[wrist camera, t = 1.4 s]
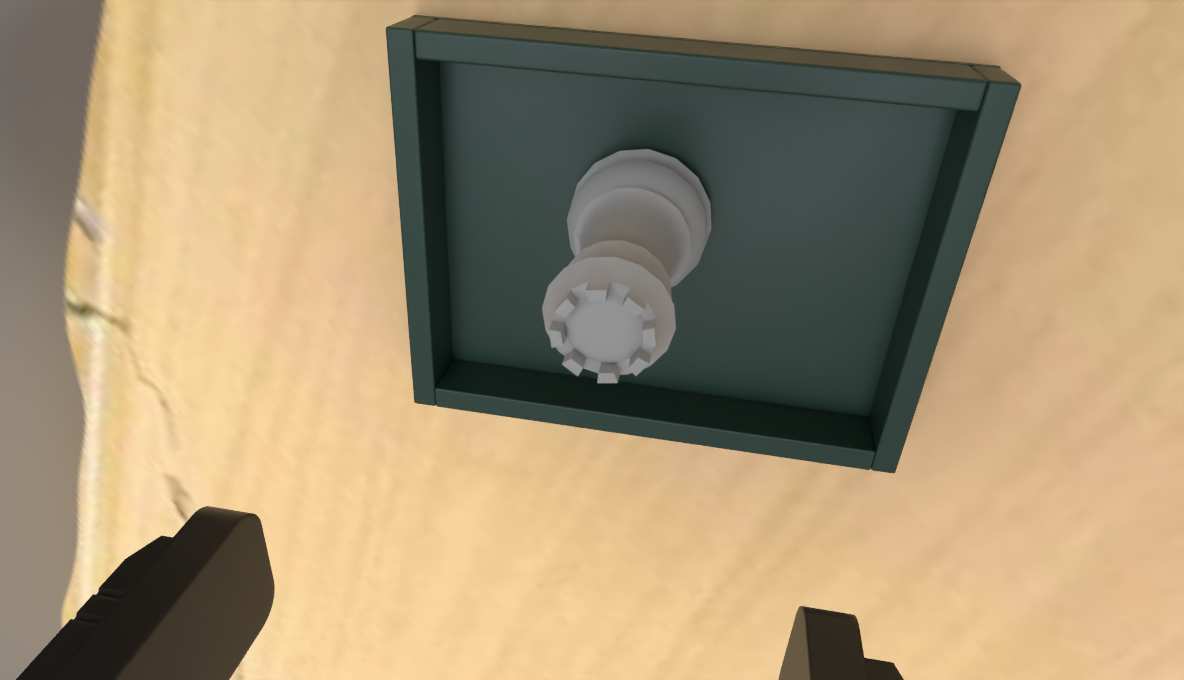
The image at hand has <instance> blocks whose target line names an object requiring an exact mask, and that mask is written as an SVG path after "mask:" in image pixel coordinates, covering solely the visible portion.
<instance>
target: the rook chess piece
mask: <svg viewBox="0 0 1184 680" xmlns="http://www.w3.org/2000/svg"><path fill="white" fill-rule="evenodd" d="M567 225H568V233H569V240H570V247H571V250H572V252H573V254H574V255H575V258H574V259H573V260H572V261H571V262H570V264H569V265H568V267H565V268H564V269H563V270H562V271H561V272H560V273H559V274H558V276H557V277H556V278H555V279H554V280H553V281H552V282H551V283H550V284H549V286H548V289H547V292H546V296H545V299H544V303H543V306H542V311H543V317H544V324H545V330H546V332H547V334H548V335H549V337H550V341H551V348H554V347H556V348H557V350H558V351H559V352H560V353H561V354H563V355H564V356H565V357H564V360H563V362H562V365H563V366H565V367H566V368H567V369H569V370H570V371H571V372H572V373H574V374H575V375H576V376H578V375H579V374H580V372H581V371H582V369H583V368H584V369H587V370H590V371H593V372H596V373H598V381H597V383H618V380H619V376H620V375H628V374H630V373H633V374H634V375H635V376H637V375H638V374H639V373H640V372H641V371H642V370H643V369H644V368H647V367H649V366H651V365H652V364H653V363H654V362H655V361H656V360H657V359H658V358H659V357H660V356H662V355H663V354H664V353H665V352H666V351H667V350H668V347H669V345H670V342H671V340H672V337H673V335H674V332H675V330H676V324H675V309H674V304H673V302H672V300H671V299H672V297H671V287H673V286H676V285H677V284H678V283H679V282H680V281H681V280H682V279H683V278H684V277H685V276H687V275H688V274H689V273H690V272H691V271H692V270H693V269H694V268H695V267H696V266H697V265H698V263H699V261H700V258H701V256H702V253H703V251H704V248H705V246H706V243H707V241H708V236H709V234H710V231H711V207H710V201H709V199H708V197H707V195H706V193H705V190H704V188H703V186H702V184H701V182H700V180H699V178H698V177H697V176H696V175H695V174H694V173H693V172H691V171H690V170H689V169H688V168H687V167H686V166H684V165H683V164H682V163H681V162H680V161H679V160H678V159H676V158H674V157H671V156H668V155H665V154H662V153H659V152H656V151H653V150H650V149H641V150H625V151H618V152H616V153H614V154H612V155H610V156H608V157H606V158H604V159H602V160H600V161H598V162H596V163H594V165H593V166H592V167H591V168H590V169H589V170H588V172H587V173H586V174H585V175H584V176H583V178H582V179H581V180H580V181H579V182H578V184H577V187H576V190H575V193H574V196H573V200H572V203H571V206H570V210H569V213H568V217H567Z"/></svg>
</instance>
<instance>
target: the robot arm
mask: <svg viewBox="0 0 1184 680" xmlns="http://www.w3.org/2000/svg"><path fill="white" fill-rule="evenodd" d="M273 599H274V579H273V575H272V570H271V566H270V561H269V556H268V552H267V547H266V543H265V538H264V533H263V529H262V524H261V521H260V519H259V517H258V516H257V515H255V514H252V513H246V512H240V511H234V510H228V509H222V508H216V507H209V506H206V507H203V508H201V509H199V510H198V511H196V512H195V513H194V514H193V515H192V516H191V518H190V519H189V520H188V521H187V522H186V523H185V525H184V526H183V527H182V528H181V529H180V530H179V531H178V533H177V534H176V535H175V536H174V537H173V538H172V537H166V536H160V537H159V538H157V539H156V540H154V541H153V542H151V543H149V544H148V545H146V546H145V547H143V548H142V549H140V550H139V551H137V552H136V553H134V554H132V555H131V556H129V557H128V558H126V559H125V560H124V561H123V562H122V563H121V564H120V566H119V567H118V568H117V569H116V570H115V571H114V572H113V573H112V574H111V575H110V577H109V578H108V579H107V580H106V581H105V582H104V583H103V584H102V585H101V586H100V588H99V591H98V593H97V595H94V594H93V595H92V596H91V597H90V599H89V600H88V601H87V602H86V603H85V604H84V605H83V606H82V607H81V608H80V610H79V611H78V612H77V615H76V618H75V619H74V620H72V619H70V621H69V622H68V623H67V624H66V625H65V626H64V627H63V628H62V629H61V630H60V632H59V633H58V634H57V635H56V636H55V637H54V638H53V639H52V640H51V642H50V643H49V644H48V645H47V646H46V647H45V648H44V649H43V650H42V652H41V653H40V654H39V655H38V656H37V657H36V658H35V659H34V660H33V661H32V662H31V663H30V665H29V666H28V667H27V668H26V669H25V670H24V671H23V672H22V674H20V676H19V677H18V678H17V679H16V680H229V679H230V678H231V676H232V675H233V673H234V671H235V670H236V668H237V667H238V665H239V664H240V662H241V661H242V659H243V657H244V656H245V654H246V653H247V651H248V650H249V648H250V647H251V645H252V643H253V642H254V640H255V639H256V637H257V636H258V634H259V632H260V631H261V629H262V628H263V626H264V624H265V623H266V620H267V618H268V616H269V613H270V611H271V607H272V604H273ZM779 680H904V679H903V678H902V676H901V674H900V673H899V671H898V670H897V668H896V667H895V665H894V663H891V662H886V661H880V660H874V659H868V658H864V654H863V648H862V642H861V635H860V629H859V624H858V621H857V618H856V617H855V615H852V614H846V613H840V612H834V611H828V610H822V609H815V608H809V607H803V606H800V607H799V608H798V611H797V613H796V617H795V620H794V624H793V628H792V631H791V635H790V638H789V642H788V646H787V649H786V653H785V656H784V660H783V664H782V667H781V671H780V675H779Z"/></svg>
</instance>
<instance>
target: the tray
mask: <svg viewBox="0 0 1184 680" xmlns="http://www.w3.org/2000/svg"><path fill="white" fill-rule="evenodd" d="M386 37H387V50H388V63H389V76H390V89H391V102H392V115H393V128H394V142H395V155H396V168H397V181H398V194H399V207H400V220H401V233H402V246H403V259H404V272H405V286H406V299H407V312H408V325H409V338H410V351H411V364H412V377H413V390H414V402H415V403H418V404H425V405H432V406H435V405H436V406H438V407H445V408H452V409H459V410H465V411H472V412H479V413H486V414H493V415H499V416H506V417H513V418H520V419H526V420H533V421H540V422H547V423H554V424H560V425H567V426H574V427H581V428H588V429H594V430H601V431H608V432H615V433H622V434H628V435H635V436H642V437H649V438H655V439H662V440H669V441H676V442H683V443H689V444H696V445H703V446H710V447H717V448H723V449H730V450H737V451H744V452H750V453H757V454H764V455H771V456H778V457H784V458H791V459H798V460H805V461H812V462H818V463H825V464H832V465H839V466H846V467H852V468H859V469H866V470H870V469H872V470H874V471H881V472H888V473H895V471H896V468H897V465H898V462H899V459H900V456H901V453H902V450H903V447H904V444H905V441H906V438H907V435H908V432H909V429H910V425H911V422H912V419H913V416H914V413H915V410H916V407H917V404H918V401H919V398H920V395H921V392H922V389H923V386H924V383H925V380H926V376H927V373H928V370H929V367H930V364H931V361H932V358H933V355H934V352H935V349H936V346H937V343H938V340H939V337H940V334H941V331H942V327H943V324H944V321H945V318H946V315H947V312H948V309H949V306H950V303H951V300H952V297H953V294H954V291H955V288H956V285H957V282H958V278H959V275H960V272H961V269H962V266H963V263H964V260H965V257H966V254H967V251H968V248H969V245H970V242H971V239H972V236H973V233H974V230H975V226H976V223H977V220H978V217H979V214H980V211H981V208H982V205H983V202H984V199H985V196H986V193H987V190H988V187H989V184H990V181H991V177H992V174H993V171H994V168H995V165H996V162H997V159H998V156H999V153H1000V150H1001V147H1002V144H1003V141H1004V138H1005V135H1006V132H1007V128H1008V125H1009V122H1010V119H1011V116H1012V113H1013V110H1014V107H1015V104H1016V101H1017V98H1018V95H1019V92H1020V89H1021V83H1019V82H1018V81H1017V80H1015V79H1014V78H1012V77H1011V76H1010V75H1008V74H1007V73H1006V72H1004V71H1003V70H1002V69H1000V68H1001V67H999V66H994V65H982V64H971V63H959V62H948V61H936V60H925V59H913V58H902V57H890V56H879V55H867V54H856V53H844V52H833V51H821V50H809V49H798V48H786V47H775V46H763V45H752V44H740V43H729V42H717V41H706V40H694V39H683V38H671V37H660V36H648V35H637V34H625V33H614V32H602V31H591V30H579V29H568V28H556V27H545V26H533V25H522V24H510V23H499V22H487V21H476V20H464V19H453V18H441V17H430V16H418V15H413V16H412V17H410V18H408V19H406V20H403V21H401V22H398V23H396V24H393V25H391V26H388V27H386ZM641 149H650V150H653V151H656V152H659V153H662V154H665V155H668V156H671V157H674V158H676V159H678V160H679V161H680V162H681V163H682V164H683V165H684V166H686V167H687V168H688V169H689V170H690V171H691V172H693V173H694V174H695V175H696V176H697V177H698V178H699V180H700V182H701V184H702V186H703V188H704V190H705V193H706V195H707V197H708V199H709V201H710V207H711V231H710V234H709V236H708V241H707V243H706V246H705V248H704V251H703V253H702V256H701V258H700V261H699V263H698V265H697V266H696V267H695V268H694V269H693V270H692V271H691V272H690V273H689V274H688V275H687V276H685V277H684V278H683V279H682V280H681V281H680V282H679V283H678V284H677V285H676V286H673V287H671V297H672V299H671V300H672V302H673V304H674V309H675V324H676V330H675V332H674V335H673V337H672V340H671V342H670V345H669V347H668V350H667V351H666V352H665V353H664V354H663V355H662V356H660V357H659V358H658V359H657V360H656V361H655V362H654V363H653V364H652V365H651V366H649V367H647V368H644V369H643V370H642V371H641V372H640V373H639V374H638V375H637V376H635V375H634V374H633V373H630V374H628V375H620V376H619V380H618V383H597V381H598V373H596V372H593V371H590V370H587V369H584V368H583V369H582V371H581V372H580V374H579V375H578V376H576V375H575V374H574V373H572V372H571V371H570V370H569V369H567V368H566V367H565V366H563V365H562V362H563V360H564V357H565V356H564V355H563V354H561V353H560V352H559V351H558V350H557V348H556V347H554V348H551V341H550V337H549V335H548V334H547V332H546V330H545V324H544V317H543V311H542V306H543V303H544V299H545V296H546V292H547V289H548V286H549V284H550V283H551V282H552V281H553V280H554V279H555V278H556V277H557V276H558V274H559V273H560V272H561V271H562V270H563V269H564V268H565V267H568V265H569V264H570V262H571V261H572V260H573V259H574V258H575V255H574V254H573V252H572V250H571V247H570V240H569V233H568V225H567V217H568V213H569V210H570V206H571V203H572V200H573V196H574V193H575V190H576V187H577V184H578V182H579V181H580V180H581V179H582V178H583V176H584V175H585V174H586V173H587V172H588V170H589V169H590V168H591V167H592V166H593V165H594V163H596V162H598V161H600V160H602V159H604V158H606V157H608V156H610V155H612V154H614V153H616V152H618V151H625V150H641Z"/></svg>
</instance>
